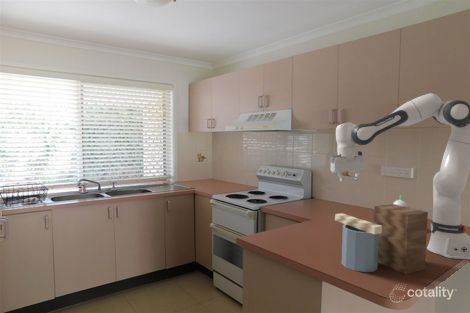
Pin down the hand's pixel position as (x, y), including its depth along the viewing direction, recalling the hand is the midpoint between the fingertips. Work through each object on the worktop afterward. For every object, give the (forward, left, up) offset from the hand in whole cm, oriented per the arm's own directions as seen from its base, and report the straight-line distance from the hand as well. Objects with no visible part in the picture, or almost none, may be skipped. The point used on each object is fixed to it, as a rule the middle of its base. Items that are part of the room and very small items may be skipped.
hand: (349, 180), depth 158 cm
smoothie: (-29, -38, -32) cm, 58 cm away
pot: (-5, +30, -32) cm, 44 cm away
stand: (-21, +23, -32) cm, 44 cm away
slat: (-4, +28, -16) cm, 33 cm away
